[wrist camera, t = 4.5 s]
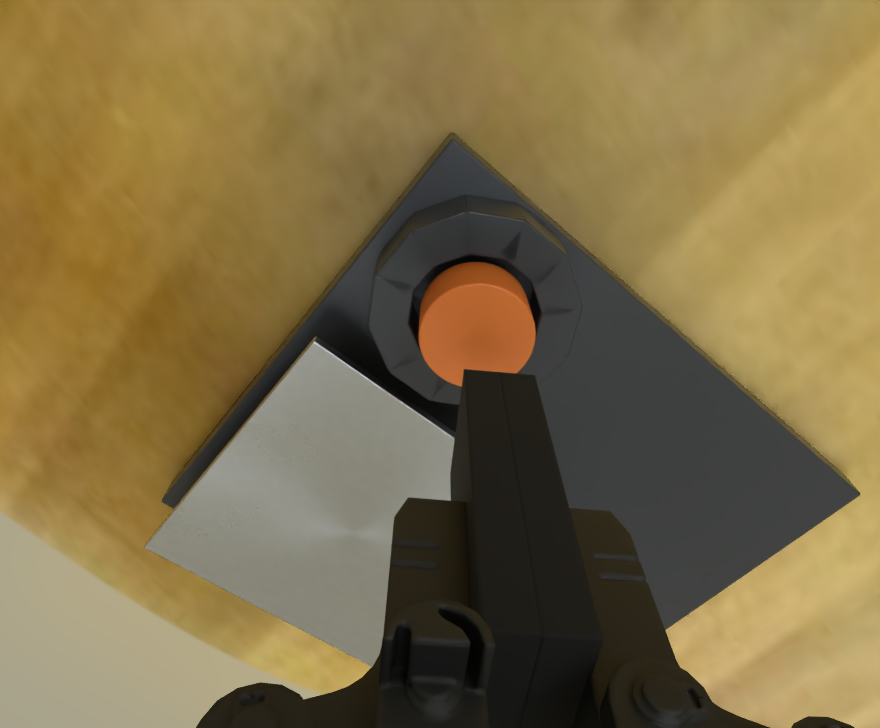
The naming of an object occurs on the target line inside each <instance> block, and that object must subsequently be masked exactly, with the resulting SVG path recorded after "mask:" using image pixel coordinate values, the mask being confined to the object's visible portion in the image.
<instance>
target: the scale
mask: <svg viewBox="0 0 880 728" xmlns="http://www.w3.org/2000/svg"><path fill="white" fill-rule="evenodd" d="M466 262H486V263H490V264H494V265H496V266H499V267H501V268H503V269H505V270H506V271H508V272H509V273H510V274H512V275H513V276H514V277H515V278H516V279H517V280H518V282H519V283H520V284H521V286H522V287H523V289H524V291H525V294H526V296H527V299H528V303H529V306H530V309H531V313H532V316H533V319H534V323H535V329H536V339H535V344H534V348H533V351H532V354H531V356H530V358H529V359H528V361H527V362H526V364H525V365H524V366H523V367H522V369H521V370H520V371H519V372H517V373H516V374H527V375H535V377H536V381H537V385H538V389H539V393H540V397H541V400H542V404H543V408H544V412H545V416H546V420H547V424H548V428H549V431H550V435H551V439H552V443H553V447H554V451H555V455H556V458H557V462H558V466H559V470H560V474H561V478H562V482H563V486H564V489H565V493H566V497H567V501H568V505H569V508H575V509H588V510H600V511H611V512H612V513H613V515H614V516H615V517H616V518H617V519H618V520H619V521H620V522H621V524H622V525H623V526H624V527H625V528H626V529H627V530H628V532H629V533H630V535H631V537H632V540H633V543H634V546H635V548H636V551H637V554H638V557H639V562H641V565H642V568H643V570H644V573H645V576H646V583H648V584H649V587H650V590H651V593H652V595H653V598H654V601H655V604H656V606H657V609H658V612H659V615H660V617H661V620H662V623H663V626H664V628H665V630H666V629H667V628H669V627H670V626H672V625H673V624H675V623H676V622H678V621H679V620H680V619H682V618H683V617H685V616H686V615H688V614H689V613H691V612H692V611H693V610H695V609H696V608H698V607H699V606H701V605H702V604H704V603H705V602H706V601H708V600H709V599H711V598H712V597H714V596H715V595H717V594H718V593H719V592H721V591H722V590H724V589H725V588H727V587H728V586H730V585H731V584H732V583H734V582H735V581H737V580H738V579H740V578H741V577H743V576H744V575H745V574H747V573H748V572H750V571H751V570H753V569H754V568H756V567H757V566H758V565H760V564H761V563H763V562H764V561H766V560H767V559H769V558H770V557H771V556H773V555H774V554H776V553H777V552H779V551H780V550H782V549H783V548H784V547H786V546H787V545H789V544H790V543H792V542H793V541H795V540H796V539H797V538H799V537H800V536H802V535H803V534H805V533H806V532H808V531H809V530H810V529H812V528H813V527H815V526H816V525H818V524H819V523H821V522H822V521H823V520H825V519H826V518H828V517H829V516H831V515H832V514H834V513H835V512H836V511H838V510H839V509H841V508H842V507H844V506H845V505H847V504H848V503H849V502H851V501H852V500H854V499H855V498H857V497H858V496H860V492H859V491H858V490H857V489H856V488H855V487H854V485H853V484H852V483H851V482H850V481H849V480H848V479H847V477H846V476H845V475H844V474H843V473H842V472H840V471H839V470H838V469H837V468H836V467H835V466H834V465H832V464H831V463H830V462H829V461H828V460H827V459H826V458H824V457H823V456H822V455H821V454H820V453H819V452H818V451H816V450H815V449H814V448H813V447H812V446H811V445H810V444H808V443H807V442H806V441H805V440H804V439H803V438H802V437H800V436H799V435H798V434H797V433H796V432H795V431H794V430H792V429H791V428H790V427H789V426H788V425H787V424H786V423H784V422H783V421H782V420H781V419H780V418H779V417H778V416H776V415H775V414H774V413H773V412H772V411H771V410H770V409H768V408H767V407H766V406H765V405H764V404H763V403H762V402H760V401H759V400H758V399H757V398H756V397H755V396H754V395H752V394H751V393H750V392H749V391H748V390H747V389H746V388H744V387H743V386H742V385H741V384H740V383H739V382H738V381H736V380H735V379H734V378H733V377H732V376H731V375H730V374H728V373H727V372H726V371H725V370H724V369H723V368H722V367H720V366H719V365H718V364H717V363H716V362H715V361H714V360H712V359H711V358H710V357H709V356H708V355H707V354H706V353H704V352H703V351H702V350H701V349H700V348H699V347H698V346H696V345H695V344H694V343H693V342H692V341H691V340H690V339H688V338H687V337H686V336H685V335H684V334H683V333H682V332H680V331H679V330H678V329H677V328H676V327H675V326H674V325H672V324H671V323H670V322H669V321H668V320H667V319H666V318H664V317H663V316H662V315H661V314H660V313H659V312H658V311H656V310H655V309H654V308H653V307H652V306H651V305H650V304H648V303H647V302H646V301H645V300H644V299H643V298H642V297H640V296H639V295H638V294H637V293H636V292H635V291H634V290H632V289H631V288H630V287H629V286H628V285H627V284H626V283H624V282H623V281H622V280H621V279H620V278H619V277H618V276H616V275H615V274H614V273H613V272H612V271H611V270H610V269H608V268H607V267H606V266H605V265H604V264H603V263H602V262H600V261H599V260H598V259H597V258H596V257H595V256H594V255H592V254H591V253H590V252H589V251H588V250H587V249H586V248H584V247H583V246H582V245H581V244H580V243H579V242H578V241H576V240H575V239H574V238H573V237H572V236H571V235H570V234H568V233H567V232H566V231H565V230H564V229H563V228H562V227H560V226H559V225H558V224H557V223H556V222H555V221H554V220H552V219H551V218H550V217H549V216H548V215H547V214H546V213H544V212H543V211H542V210H541V209H540V208H539V207H538V206H536V205H535V204H534V203H533V202H532V201H531V200H530V199H528V198H527V197H526V196H525V195H524V194H523V193H522V192H520V191H519V190H518V189H517V188H516V187H515V186H514V185H512V184H511V183H510V182H509V181H508V180H507V179H506V178H504V177H503V176H502V175H501V174H500V173H499V172H498V171H496V170H495V169H494V168H493V167H492V166H491V165H490V164H488V163H487V162H486V161H485V160H484V159H483V158H482V157H480V156H479V155H478V154H477V153H476V152H475V151H474V150H472V149H471V148H470V147H469V146H468V145H467V144H466V143H464V142H463V141H462V140H461V139H460V138H459V137H458V136H456V135H455V134H454V133H450V135H449V136H448V137H447V138H446V140H445V141H444V142H443V143H442V145H441V146H440V147H439V148H438V150H437V151H436V152H435V153H434V155H433V156H432V157H431V158H430V160H429V161H428V162H427V163H426V165H425V166H424V167H423V168H422V170H421V171H420V172H419V173H418V175H417V176H416V177H415V178H414V180H413V181H412V182H411V183H410V185H409V186H408V187H407V188H406V190H405V191H404V192H403V193H402V195H401V196H400V197H399V198H398V200H397V201H396V202H395V203H394V205H393V206H392V207H391V209H390V210H389V211H388V212H387V214H386V215H385V216H384V217H383V219H382V220H381V221H380V222H379V224H378V225H377V226H376V227H375V229H374V230H373V231H372V232H371V234H370V235H369V236H368V237H367V239H366V240H365V241H364V242H363V244H362V245H361V246H360V247H359V249H358V250H357V251H356V252H355V254H354V255H353V256H352V257H351V259H350V260H349V261H348V262H347V264H346V265H345V266H344V267H343V269H342V270H341V271H340V272H339V274H338V275H337V276H336V277H335V279H334V280H333V281H332V282H331V284H330V285H329V286H328V287H327V289H326V290H325V291H324V292H323V294H322V295H321V296H320V297H319V299H318V300H317V301H316V302H315V304H314V305H313V306H312V307H311V309H310V310H309V311H308V312H307V314H306V315H305V316H304V317H303V319H302V320H301V321H300V322H299V324H298V325H297V326H296V327H295V329H294V330H293V331H292V332H291V334H290V335H289V336H288V338H287V339H286V340H285V341H284V343H283V344H282V345H281V346H280V348H279V349H278V350H277V351H276V353H275V354H274V355H273V356H272V358H271V359H270V360H269V361H268V363H267V364H266V365H265V366H264V368H263V369H262V370H261V371H260V373H259V374H258V375H257V376H256V378H255V379H254V380H253V381H252V383H251V384H250V385H249V386H248V388H247V389H246V390H245V391H244V393H243V394H242V395H241V396H240V398H239V399H238V400H237V401H236V403H235V404H234V405H233V406H232V408H231V409H230V410H229V411H228V413H227V414H226V415H225V416H224V418H223V419H222V420H221V421H220V423H219V424H218V425H217V426H216V428H215V429H214V430H213V431H212V433H211V434H210V435H209V436H208V438H207V439H206V440H205V441H204V443H203V444H202V445H201V446H200V448H199V449H198V450H197V451H196V453H195V454H194V455H193V456H192V458H191V459H190V460H189V461H188V463H187V464H186V465H185V466H184V468H183V469H182V470H181V472H180V473H179V474H178V475H177V477H176V478H175V479H174V480H173V482H172V483H171V485H170V487H169V488H168V490H167V492H166V494H165V495H164V497H163V499H162V502H163V503H164V504H166V505H168V506H170V507H172V508H173V509H174V508H175V507H176V506H177V504H178V503H179V502H180V501H181V500H182V498H183V497H184V496H185V495H186V493H187V492H188V491H189V490H190V489H191V487H192V486H193V485H194V484H195V482H196V481H197V480H198V479H199V478H200V476H201V475H202V474H203V473H204V471H205V470H206V469H207V468H208V467H209V465H210V464H211V463H212V462H213V460H214V459H215V458H216V457H217V456H218V454H219V453H220V452H221V451H222V450H223V448H224V447H225V446H226V445H227V443H228V442H229V441H230V440H231V439H232V437H233V436H234V435H235V434H236V432H237V431H238V430H239V429H240V428H241V426H242V425H243V424H244V423H245V421H246V420H247V419H248V418H249V417H250V415H251V414H252V413H253V412H254V411H255V409H256V408H257V407H258V406H259V404H260V403H261V402H262V401H263V400H264V398H265V397H266V396H267V395H268V393H269V392H270V391H271V390H272V389H273V387H274V386H275V385H276V384H277V382H278V381H279V380H280V379H281V378H282V376H283V375H284V374H285V373H286V371H287V370H288V369H289V368H290V367H291V365H292V364H293V363H294V362H295V361H296V359H297V358H298V357H299V356H300V354H301V353H302V352H303V351H304V350H305V348H306V347H307V346H308V345H309V343H310V342H311V341H312V340H313V339H314V337H316V336H317V337H318V338H320V339H321V340H323V341H324V342H326V343H327V344H329V345H330V346H331V347H333V348H334V349H336V350H337V351H339V352H340V353H342V354H343V355H344V356H346V357H347V358H349V359H350V360H352V361H353V362H355V363H356V364H357V365H359V366H360V367H362V368H363V369H365V370H366V371H368V372H369V373H370V374H372V375H373V376H375V377H376V378H378V379H379V380H380V381H382V382H383V383H385V384H386V385H388V386H389V387H391V388H392V389H393V390H395V391H396V392H398V393H399V394H401V395H402V396H404V397H405V398H406V399H408V400H409V401H411V402H412V403H414V404H415V405H417V406H418V407H419V408H421V409H422V410H424V411H425V412H427V413H428V414H430V415H431V416H432V417H434V418H435V419H437V420H438V421H440V422H441V423H442V424H444V425H445V426H447V427H448V428H450V429H451V430H453V431H454V432H455V433H456V426H457V418H458V411H459V403H460V396H461V388H462V387H461V386H457V385H454V384H452V383H450V382H447V381H445V380H444V379H442V378H441V377H439V376H438V375H437V374H436V373H434V372H433V370H432V369H431V368H430V367H429V366H428V364H427V363H426V362H425V360H424V358H423V356H422V353H421V350H420V346H419V337H418V334H419V318H420V306H421V301H422V298H423V295H424V293H425V291H426V289H427V287H428V286H429V284H430V283H431V282H432V281H433V280H434V279H435V278H436V277H437V276H438V275H439V274H440V273H442V272H443V271H445V270H446V269H448V268H450V267H452V266H455V265H458V264H461V263H466Z"/></svg>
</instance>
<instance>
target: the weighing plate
mask: <svg viewBox="0 0 880 728" xmlns="http://www.w3.org/2000/svg"><path fill="white" fill-rule="evenodd" d="M454 441H455V432H454V431H453V430H451V429H450V428H448V427H447V426H445V425H444V424H442V423H441V422H440V421H438V420H437V419H435V418H434V417H432V416H431V415H430V414H428V413H427V412H425V411H424V410H422V409H421V408H419V407H418V406H417V405H415V404H414V403H412V402H411V401H409V400H408V399H406V398H405V397H404V396H402V395H401V394H399V393H398V392H396V391H395V390H393V389H392V388H391V387H389V386H388V385H386V384H385V383H383V382H382V381H380V380H379V379H378V378H376V377H375V376H373V375H372V374H370V373H369V372H368V371H366V370H365V369H363V368H362V367H360V366H359V365H357V364H356V363H355V362H353V361H352V360H350V359H349V358H347V357H346V356H344V355H343V354H342V353H340V352H339V351H337V350H336V349H334V348H333V347H331V346H330V345H329V344H327V343H326V342H324V341H323V340H321V339H320V338H318V337H317V336H316V337H314V339H313V340H312V341H311V342H310V343H309V345H308V346H307V347H306V348H305V350H304V351H303V352H302V353H301V354H300V356H299V357H298V358H297V359H296V361H295V362H294V363H293V364H292V365H291V367H290V368H289V369H288V370H287V371H286V373H285V374H284V375H283V376H282V378H281V379H280V380H279V381H278V382H277V384H276V385H275V386H274V387H273V389H272V390H271V391H270V392H269V393H268V395H267V396H266V397H265V398H264V400H263V401H262V402H261V403H260V404H259V406H258V407H257V408H256V409H255V411H254V412H253V413H252V414H251V415H250V417H249V418H248V419H247V420H246V421H245V423H244V424H243V425H242V426H241V428H240V429H239V430H238V431H237V432H236V434H235V435H234V436H233V437H232V439H231V440H230V441H229V442H228V443H227V445H226V446H225V447H224V448H223V450H222V451H221V452H220V453H219V454H218V456H217V457H216V458H215V459H214V460H213V462H212V463H211V464H210V465H209V467H208V468H207V469H206V470H205V471H204V473H203V474H202V475H201V476H200V478H199V479H198V480H197V481H196V482H195V484H194V485H193V486H192V487H191V489H190V490H189V491H188V492H187V493H186V495H185V496H184V497H183V498H182V500H181V501H180V502H179V503H178V504H177V506H176V507H175V508H174V509H173V510H172V512H171V513H170V514H169V515H168V517H167V518H166V519H165V520H164V521H163V523H162V524H161V525H160V526H159V528H158V529H157V530H156V531H155V532H154V534H153V535H152V536H151V537H150V539H149V540H148V541H147V543H146V545H145V548H146V549H148V550H150V551H152V552H154V553H156V554H158V555H159V556H161V557H163V558H165V559H167V560H169V561H171V562H173V563H175V564H177V565H179V566H180V567H182V568H184V569H186V570H188V571H190V572H192V573H194V574H196V575H198V576H200V577H201V578H203V579H205V580H207V581H209V582H211V583H213V584H215V585H217V586H219V587H221V588H222V589H224V590H226V591H228V592H230V593H232V594H234V595H236V596H238V597H240V598H242V599H243V600H245V601H247V602H249V603H251V604H253V605H255V606H257V607H259V608H261V609H263V610H264V611H266V612H268V613H270V614H272V615H274V616H276V617H278V618H280V619H282V620H284V621H285V622H287V623H289V624H291V625H293V626H295V627H297V628H299V629H301V630H303V631H305V632H306V633H308V634H310V635H312V636H314V637H316V638H318V639H320V640H322V641H324V642H326V643H327V644H329V645H331V646H333V647H335V648H337V649H339V650H341V651H343V652H345V653H347V654H348V655H350V656H352V657H354V658H356V659H358V660H360V661H362V662H364V663H366V664H368V665H369V666H371V667H373V665H374V663H375V661H376V660H377V658H378V656H379V654H380V650H381V646H382V638H383V633H384V622H385V611H386V600H387V590H388V579H389V568H390V557H391V546H392V536H393V525H394V517H395V515H396V514H397V512H398V511H399V510H400V508H401V507H402V505H403V504H404V503H405V501H406V500H407V498H408V497H410V498H423V499H436V500H448V501H451V488H450V471H451V463H452V456H453V448H454Z"/></svg>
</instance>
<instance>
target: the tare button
mask: <svg viewBox="0 0 880 728" xmlns="http://www.w3.org/2000/svg"><path fill="white" fill-rule="evenodd" d="M418 337H419V346H420V350H421V353H422V356H423V358H424V360H425V362H426V363H427V364H428V366H429V367H430V368H431V369H432V370H433V372H434V373H436V374H437V375H438V376H439V377H441V378H442V379H444V380H445V381H447V382H450V383H452V384H454V385H457V386H461V387H462V381H463V373H464V369H470V370H482V371H493V372H504V373H517V372H519V371H520V370H521V369H522V367H523V366H524V365H525V364H526V362H527V361H528V359H529V358H530V356H531V354H532V351H533V348H534V344H535V339H536V329H535V323H534V319H533V316H532V313H531V309H530V306H529V303H528V299H527V296H526V294H525V291H524V289H523V287H522V286H521V284H520V283H519V282H518V280H517V279H516V278H515V277H514V276H513V275H512V274H510V273H509V272H508V271H506V270H505V269H503V268H501V267H499V266H496V265H494V264H490V263H486V262H466V263H461V264H458V265H455V266H452V267H450V268H448V269H446V270H445V271H443V272H442V273H440V274H439V275H438V276H437V277H436V278H435V279H434V280H433V281H432V282H431V283H430V284H429V286H428V287H427V289H426V291H425V293H424V295H423V298H422V301H421V306H420V318H419V334H418Z"/></svg>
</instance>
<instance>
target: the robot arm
mask: <svg viewBox="0 0 880 728" xmlns="http://www.w3.org/2000/svg"><path fill="white" fill-rule="evenodd" d="M450 488H451V501H448V500H436V499H423V498H410V497H408V498H407V500H406V501H405V503H404V504H403V505H402V507H401V508H400V510H399V511H398V512H397V514H396V515H395V517H394V525H393V536H392V546H391V557H390V568H389V579H388V590H387V600H386V611H385V622H384V633H383V638H382V646H381V650H380V654H379V656H378V658H377V660H376V661H375V663H374V665H373V667H372V668H371V669H370V670H369V671H368V672H367V673H366V674H365V675H364V676H363V677H362V678H361V679H359V680H358V681H356V682H354V683H353V684H351V685H350V686H348V687H346V688H343V689H340V690H338V691H335V692H332V693H328V694H324V695H320V696H316V697H312V698H309V699H305V700H303V698H302V697H301V696H300V694H298V693H296V692H294V691H292V690H290V689H288V688H286V687H285V686H283V685H278V684H268V683H256V684H252V685H248V686H244V687H240V688H237V689H235V690H234V691H232V692H231V693H229V694H227V695H226V696H224V697H222V698H221V699H219V700H218V701H217V702H216V703H215V704H214V705H213V706H212V707H211V708H210V710H209V711H208V712H207V713H206V714H205V715H204V717H203V718H202V719H201V721H200V722H199V724H198V725H197V727H196V728H769V727H766V726H764V725H761V724H758V723H755V722H753V721H750V720H747V719H745V718H742V717H739V716H737V715H735V714H732V713H730V712H728V711H726V710H724V709H722V708H720V707H719V706H717V705H716V704H714V703H713V702H712V701H711V699H710V698H709V696H708V694H707V692H706V691H705V689H704V687H703V686H702V685H701V684H700V683H698V682H697V681H696V680H695V679H694V678H693V677H692V676H691V675H690V674H689V673H688V672H687V671H685V670H683V669H681V668H680V667H679V665H678V663H677V661H676V659H675V656H674V653H673V650H672V648H671V645H670V642H669V639H668V637H667V634H666V631H665V628H664V626H663V623H662V620H661V617H660V615H659V612H658V609H657V606H656V604H655V601H654V598H653V595H652V593H651V590H650V587H649V584H648V583H646V576H645V573H644V570H643V568H642V565H641V562H639V557H638V554H637V551H636V548H635V546H634V543H633V540H632V537H631V535H630V533H629V532H628V530H627V529H626V528H625V527H624V526H623V525H622V524H621V522H620V521H619V520H618V519H617V518H616V517H615V516H614V515H613V513H612V512H611V511H600V510H588V509H575V508H569V505H568V501H567V497H566V493H565V489H564V486H563V482H562V478H561V474H560V470H559V466H558V462H557V458H556V455H555V451H554V447H553V443H552V439H551V435H550V431H549V428H548V424H547V420H546V416H545V412H544V408H543V404H542V400H541V397H540V393H539V389H538V385H537V381H536V377H535V375H527V374H516V373H504V372H493V371H482V370H470V369H464V373H463V381H462V388H461V396H460V403H459V411H458V418H457V426H456V433H455V441H454V448H453V456H452V463H451V471H450ZM792 728H854V727H853V726H851V725H849V724H846V723H843V722H840V721H837V720H835V719H832V718H829V717H806V718H804V719H802V720H800V721H798V722H796V723H794V724H793V726H792Z"/></svg>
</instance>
